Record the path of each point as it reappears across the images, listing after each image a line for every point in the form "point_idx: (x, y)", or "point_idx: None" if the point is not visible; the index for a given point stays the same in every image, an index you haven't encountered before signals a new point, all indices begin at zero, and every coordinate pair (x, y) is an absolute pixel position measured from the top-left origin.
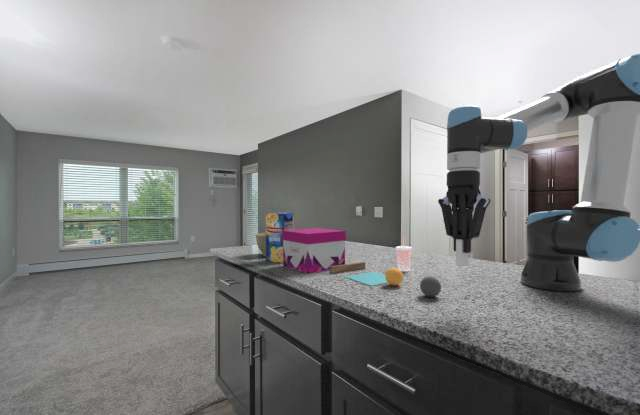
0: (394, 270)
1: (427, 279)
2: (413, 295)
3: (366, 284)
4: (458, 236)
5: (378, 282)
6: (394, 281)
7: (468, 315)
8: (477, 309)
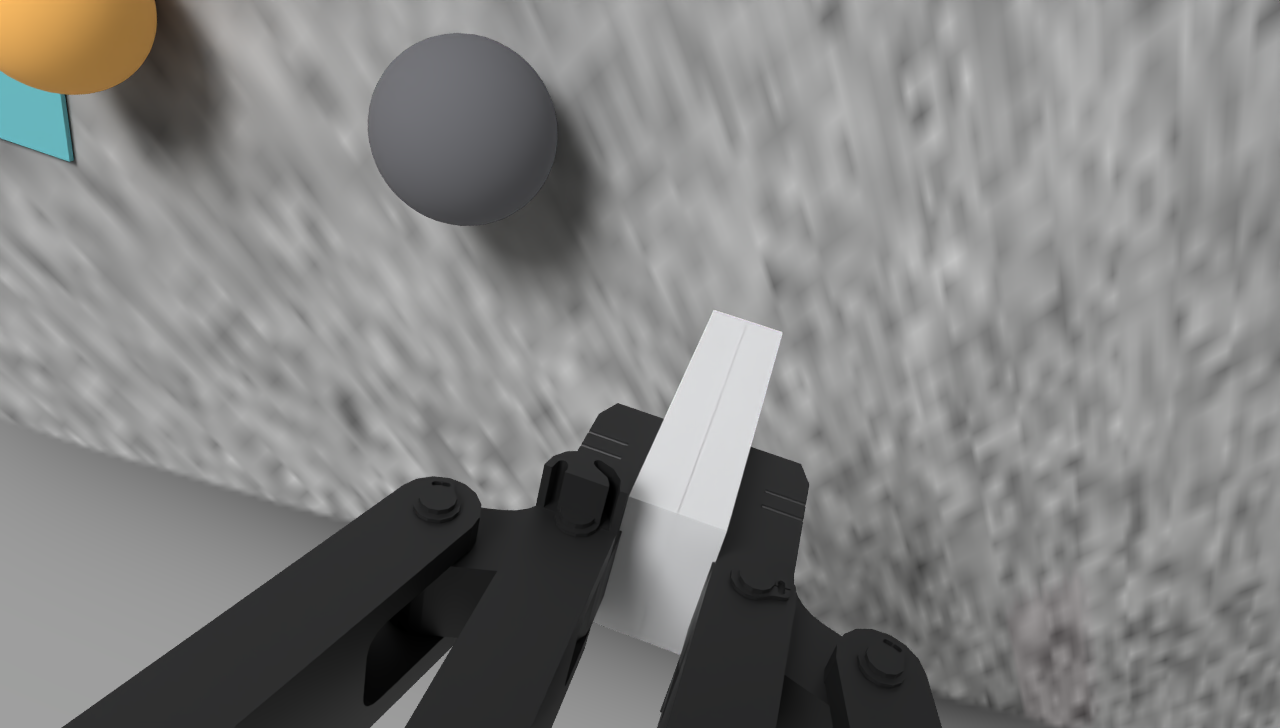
0: (34, 59)
1: (433, 207)
2: None
3: (23, 143)
4: (593, 617)
5: None
6: (136, 68)
7: (881, 359)
8: (906, 193)
